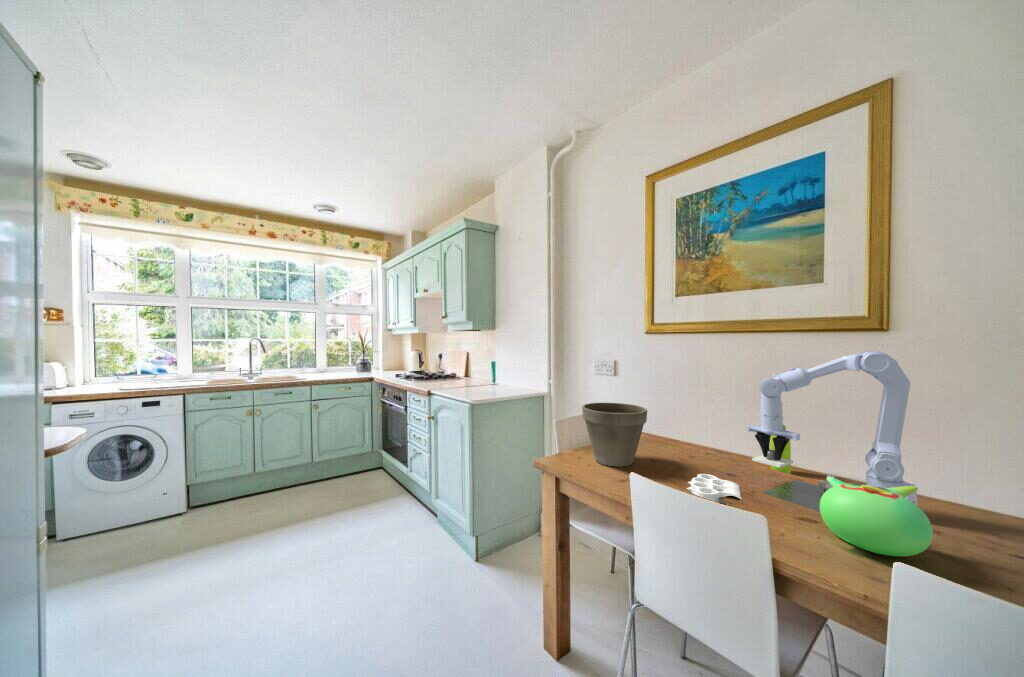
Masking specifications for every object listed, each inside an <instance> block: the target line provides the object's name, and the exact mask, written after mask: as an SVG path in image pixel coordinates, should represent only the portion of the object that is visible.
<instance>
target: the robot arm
mask: <svg viewBox="0 0 1024 677" xmlns="http://www.w3.org/2000/svg"><path fill="white" fill-rule="evenodd" d="M900 366H901V365H899V362H898V361H897V360H896V359H895V358H893V357H891V355H889V354H888V353H885V352H882V351H878V350H877V351H875V350H866V351H862V352H860V353H852V354H848V355H845V356H840V357H838V358H835V359H833V360H829V361H827V362H825V363H822V364H819V365H816V366H814V367H811V368H810V367H809V368H807V369H805V368H802V367H797V368H795V367H791V368H789V371H786V372H785V371H784V372H782V373H780V374H778V373H774V374H773V375H772V377H767V378H764V379H762V380H761V382H760V384H759V390H760V392H761V393H760V401H759V402H760V403H759V404H760V425H755V424H747V425H746V432H753V433H756V434H754V438H755V439H756V440H757V442H758V444H759V447H760V449H761V451H762V452H761V453H762V455H763V456H764V457H767V450H770V437H771V435H772V436H777V437H775V438H773V442H774V447H775V460H781V457H782V453H783V450H784V448H785V446H786V444H787V443H788V441H789V439H790V440H792V441H797V442H798V441H800V440H801V437H800V436H801V435H800V433H798V432H793V431H789V430H783V425H784V424H783V421H784V416H783V401H782V393H783V392H785V393H788V392H791V391H794V390H795V391H796V390H798V389H800V388H804V387H807V386H810V384H811V383H812V381H813V380H814V379H817V378H821V377H824V376H827V375H832V374H835V373H840V372H842V371H855V372H860V371H863V372H865V373H867V374H868V375H870V376H873V377H874V378H875V379H876V380H877V381H878V382H879V383H880V384H881V385H882V386H883V387H882V388H883V389H882V394H881V401H880V407H879V413H878V419H877V424H876V429H875V430H876V432H875V438H874V440H873V442H872V444H871V448H870V450H869V451H868V452H867V453H866V454H865V460H864V461H865V463H866V465H867V466H868V467H869V469H868V470H866V472H865V478H866V479H865V483H866V484H865V485H870V486H875V487H881V488H884V489H886V488H894V487H903V486H915V487H917V486H916V485H915V484H914V483H910V482H907V481H904V477H903V476H904V475H905V468H904V466H903V464H902V450H901V442H902V437H903V431H904V430H903V429H904V424H905V417H906V414H907V413H906V411H907V405H908V400H909V394H910V388H911V381H910V379H909V378H908V377H907V376H908V375H906V374H905V372H904V371H903V369H902V368H901V367H900ZM905 498H907V499H908V500H910V501H911V502H913V503H914V504H915V505H917V506H918V490H917V491H916V492H914V493H912V494H911V495H909V496H907V497H905Z"/></svg>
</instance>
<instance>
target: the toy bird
mask: <svg viewBox="0 0 1024 677" xmlns="http://www.w3.org/2000/svg"><path fill="white" fill-rule="evenodd" d="M826 478H827V480H828V482H829V483H830V484H831V486H832V488H830V489H828V490H827V491H826V492H825V493H824V494H823V495H822V497H821V500H820V510H819V512H820V513H819V514H820V516H821V518H822V520H823V522H824V524H825V525H826V527H828V528H829V530H830V531H831V532H832V533H834V535H836V536H837V537H838V538H841V540H843V541H845V542H847V543H849V544H851V545H853V546H855V547H857V548H859V549H862V550H865V551H868V552H871V553H873V554H878V555H883V556H887V557H888V556H889V557H910V556H911V557H912V556H917V555H919V554H921V553H923V552H925V551H926V550H927V549H928V548H929V547H930V545H931V543H932V541H933V537H934V532H933V531H934V530H933V526H932V523H931V521H930V519H929V518H928V516H927V514H926V513H925V512H924V511H923V509H921V508H920V507H919V506H918V504H917V505H915V504H914V503H913V502H911V501H910V500H908V499H907V498H905V497H907V496H909V495H911V494H912V493H914V492H916V491H917V492H918V490H919V488H918V487H917V486H916V485H915V486H916V487H915V486H903V487H894V488H886V489H884V488H881V487H875V486H870V485H866V484H863V483H859V482H858V483H853V482H852V483H847V482H844V481H842V480H840V479H838V478H833V477H827V476H826Z"/></svg>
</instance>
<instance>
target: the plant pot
mask: <svg viewBox="0 0 1024 677" xmlns="http://www.w3.org/2000/svg"><path fill="white" fill-rule="evenodd" d="M581 406H582V407H581V408H582V409H581V410H582V419H583V420H584V421H585V425H586V430H587V433H588V434H587V435H588V437H589V441H590V446H591V449H592V454H593V457H594V460H595V461H596V462H597V463H598V464H600V465H603V466H606V465H607V467H612V466H615V468H624V466H625V467H629V466H631V465H632V464H633V463H634V460H635V456H636V453H637V450H638V447H639V443H640V440H641V436H642V433H643V430H644V429H643V428H644V426H645V424H646V423H647V419H648V408H645V407H644V406H640V405H635V404H630V403H622V402H621V403H620V402H619V403H618V402H591V403H585V404H583V405H581Z"/></svg>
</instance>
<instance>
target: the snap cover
mask: <svg viewBox="0 0 1024 677" xmlns="http://www.w3.org/2000/svg"><path fill="white" fill-rule="evenodd" d="M751 460H752V462H756V463H761V464H764V465H767V466H770V467H771V466H775V467H779V468H781V467H784V466H787V465H790V464H791V465H792V464H794V460H787V459H783V458H781V460H775V450H770V449H769V450H767V457H764V456H763V454H761V455H758V456H755V457H752V458H751Z"/></svg>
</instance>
